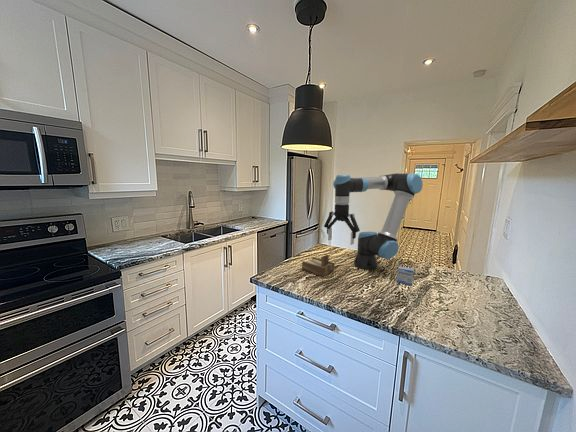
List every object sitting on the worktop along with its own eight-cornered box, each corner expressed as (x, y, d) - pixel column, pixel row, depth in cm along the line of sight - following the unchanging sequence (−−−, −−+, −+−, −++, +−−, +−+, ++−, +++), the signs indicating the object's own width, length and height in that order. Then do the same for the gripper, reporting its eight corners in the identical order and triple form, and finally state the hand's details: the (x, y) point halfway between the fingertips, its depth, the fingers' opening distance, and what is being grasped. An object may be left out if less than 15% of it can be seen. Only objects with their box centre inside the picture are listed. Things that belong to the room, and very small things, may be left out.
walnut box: (313, 265, 164) (313, 257, 163) (333, 271, 154) (334, 263, 153) (302, 270, 155) (302, 261, 154) (323, 277, 145) (323, 268, 144)
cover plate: (313, 260, 161) (314, 250, 160) (330, 265, 153) (331, 254, 152) (305, 264, 155) (305, 253, 154) (322, 269, 146) (323, 258, 145)
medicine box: (396, 282, 139) (398, 268, 138) (397, 279, 143) (398, 265, 142) (412, 285, 136) (413, 270, 134) (412, 282, 140) (413, 268, 138)
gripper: (318, 202, 136) (317, 239, 140) (361, 206, 121) (359, 247, 125) (325, 201, 142) (324, 236, 146) (367, 204, 127) (365, 244, 131)
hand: (340, 241), depth 135 cm, fingers open, 13 cm apart
